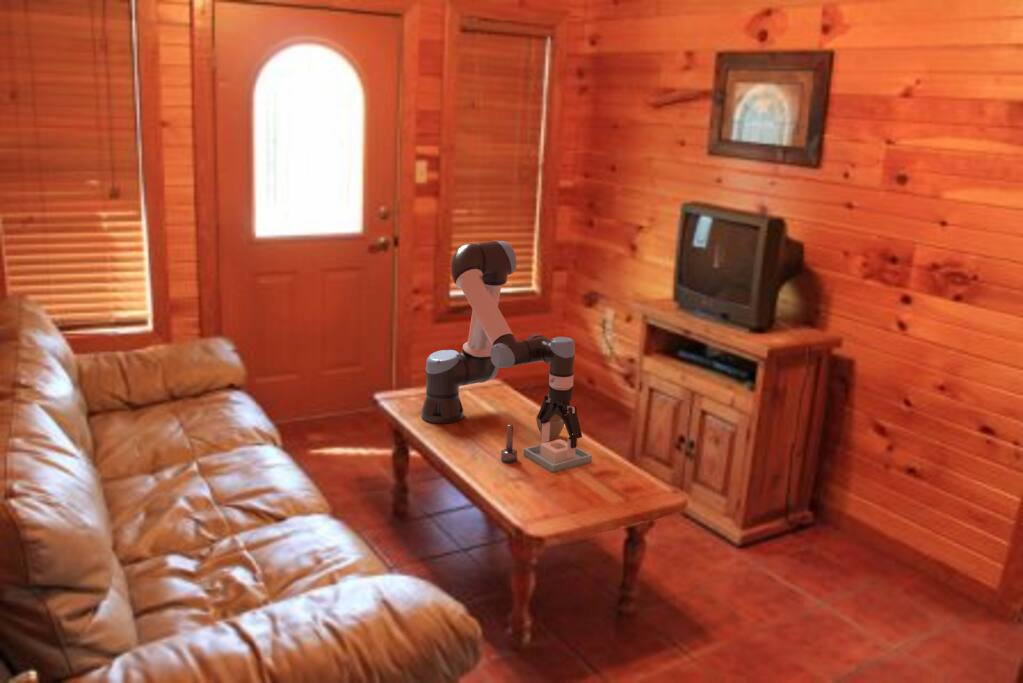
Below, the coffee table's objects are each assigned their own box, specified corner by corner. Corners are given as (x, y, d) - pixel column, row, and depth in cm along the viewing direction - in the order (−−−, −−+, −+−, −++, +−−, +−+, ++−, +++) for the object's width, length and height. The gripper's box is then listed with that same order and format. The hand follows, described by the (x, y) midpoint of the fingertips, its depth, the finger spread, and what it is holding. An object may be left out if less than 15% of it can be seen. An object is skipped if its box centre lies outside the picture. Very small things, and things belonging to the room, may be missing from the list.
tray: (523, 455, 281) (523, 448, 280) (561, 445, 290) (562, 439, 289) (552, 473, 269) (552, 465, 268) (591, 462, 277) (592, 455, 277)
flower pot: (562, 443, 291) (563, 423, 289) (532, 440, 293) (533, 420, 291) (566, 433, 301) (567, 413, 299) (538, 430, 302) (538, 410, 300)
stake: (498, 459, 278) (499, 424, 274) (511, 455, 280) (512, 421, 277) (506, 464, 274) (508, 429, 270) (519, 461, 276) (521, 426, 273)
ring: (539, 455, 280) (540, 444, 279) (559, 450, 284) (560, 439, 283) (554, 464, 274) (555, 452, 273) (574, 459, 278) (575, 447, 277)
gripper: (528, 377, 280) (525, 438, 286) (576, 400, 260) (572, 465, 266) (546, 373, 284) (544, 434, 290) (595, 396, 265) (591, 460, 270)
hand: (557, 449), depth 278 cm, fingers open, 13 cm apart
